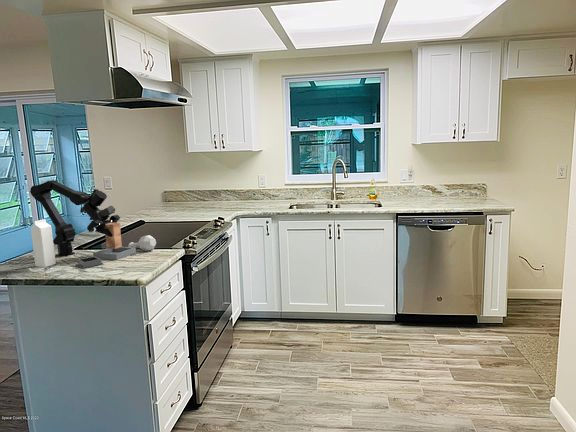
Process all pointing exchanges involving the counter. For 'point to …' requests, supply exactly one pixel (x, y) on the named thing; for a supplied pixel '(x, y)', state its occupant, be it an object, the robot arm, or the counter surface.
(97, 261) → the grey square base plate
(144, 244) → the chicken leg
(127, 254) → the tray
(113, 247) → the block
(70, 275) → the counter surface
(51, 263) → the milk
